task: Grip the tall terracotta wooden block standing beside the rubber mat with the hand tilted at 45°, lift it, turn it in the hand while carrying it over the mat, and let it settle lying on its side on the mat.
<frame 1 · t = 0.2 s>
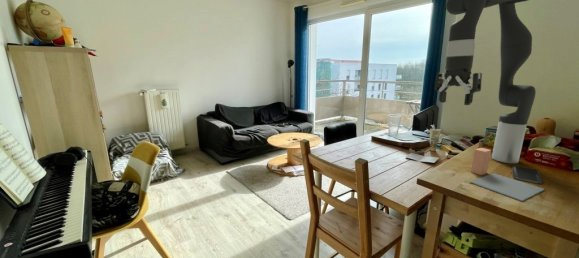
hand: (454, 103, 87), 29 cm above the table, tool pointing down, fingers open, 8 cm apart
mat: (505, 186, 88), on the table
phone: (525, 176, 97), on the table
block: (478, 172, 99), on the table
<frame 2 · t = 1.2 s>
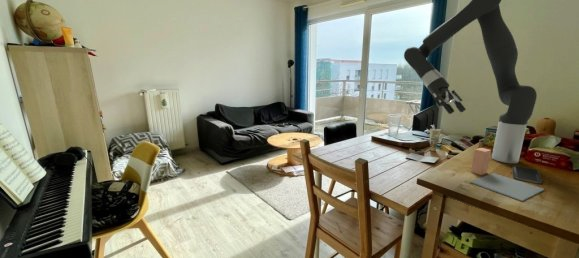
hand: (458, 111, 104), 23 cm above the table, tool tilted 45°, fingers open, 8 cm apart
nothing on the table moved.
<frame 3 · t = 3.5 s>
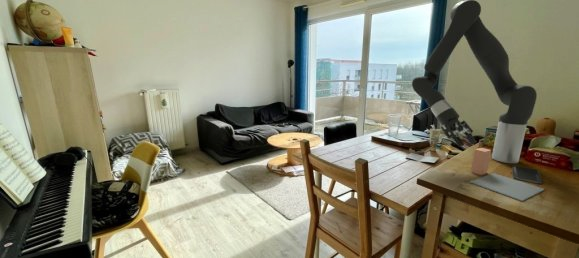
hand: (468, 144, 102), 10 cm above the table, tool tilted 45°, fingers open, 8 cm apart
nothing on the table moved.
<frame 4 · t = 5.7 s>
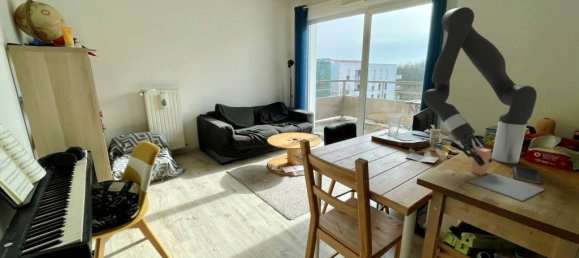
hand: (486, 163, 97), 4 cm above the table, tool tilted 45°, fingers closed on block, 4 cm apart
block: (478, 172, 99), on the table, touching gripper
everything else where it was.
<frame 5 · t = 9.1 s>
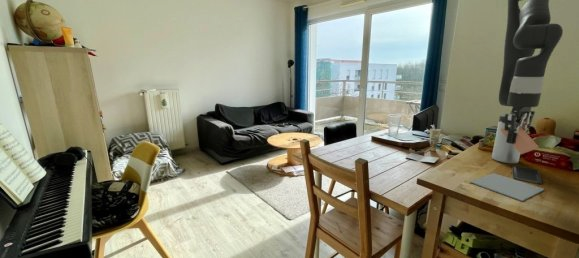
hand: (514, 141, 84), 16 cm above the table, tool pointing down, fingers closed on block, 4 cm apart
block: (529, 150, 81), point 14 cm above the table, tilted 45°, touching gripper
everything else where it was.
when the fingers open (5 cm above the table, at t = 11.7 s): block moves 2 cm and tips over, resting on mat.
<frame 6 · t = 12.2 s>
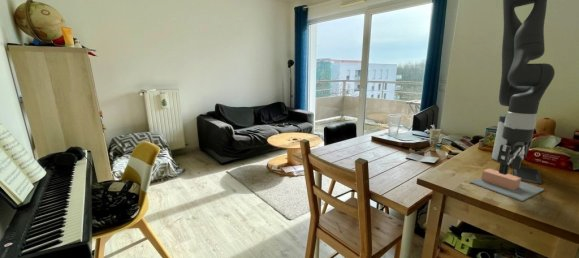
hand: (509, 171, 86), 6 cm above the table, tool pointing down, fingers open, 8 cm apart
block: (517, 184, 85), point 2 cm above the table, tilted 90°, touching mat
everything else where it was.
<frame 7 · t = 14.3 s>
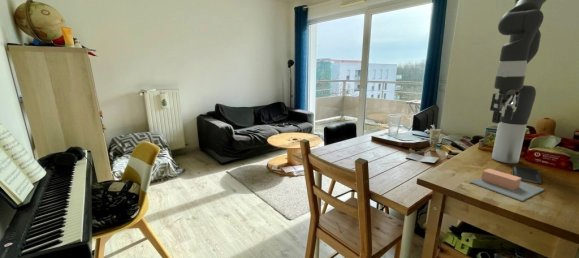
hand: (501, 121, 89), 22 cm above the table, tool pointing down, fingers open, 8 cm apart
nothing on the table moved.
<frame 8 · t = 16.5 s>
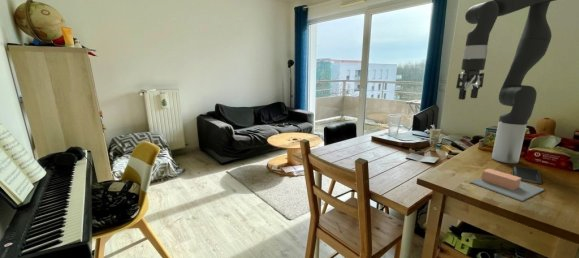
hand: (467, 98, 103), 28 cm above the table, tool pointing down, fingers open, 8 cm apart
nothing on the table moved.
at the end: block tilted 90°; block inside the target area (2.9 cm from its centre), point 2.1 cm above the table; block touching mat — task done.
